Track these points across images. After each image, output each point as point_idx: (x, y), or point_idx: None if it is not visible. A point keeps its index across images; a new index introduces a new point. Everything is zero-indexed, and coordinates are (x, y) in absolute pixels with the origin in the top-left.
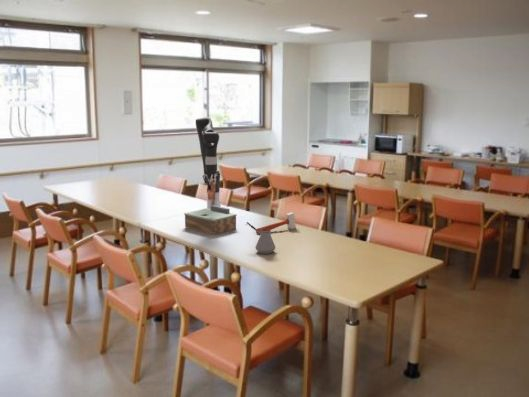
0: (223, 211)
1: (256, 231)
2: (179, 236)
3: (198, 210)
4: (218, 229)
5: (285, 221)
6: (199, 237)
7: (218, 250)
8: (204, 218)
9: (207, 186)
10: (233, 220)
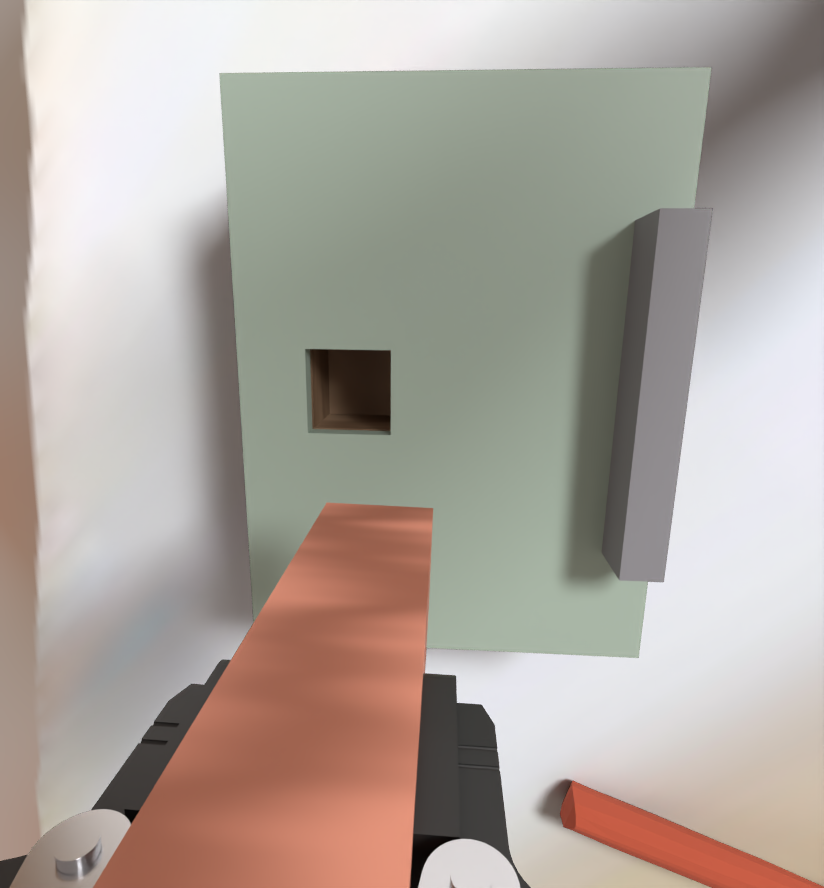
0: (613, 490)
1: (569, 797)
2: (60, 361)
3: (496, 87)
4: None
5: None
6: (169, 516)
7: None
8: (248, 491)
9: (130, 757)
10: None
